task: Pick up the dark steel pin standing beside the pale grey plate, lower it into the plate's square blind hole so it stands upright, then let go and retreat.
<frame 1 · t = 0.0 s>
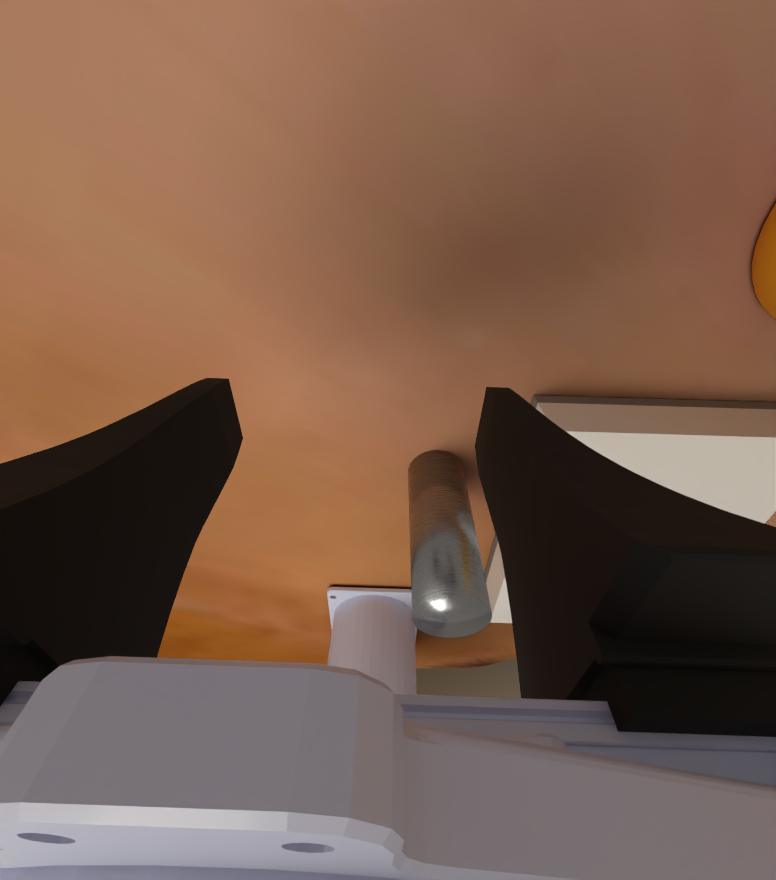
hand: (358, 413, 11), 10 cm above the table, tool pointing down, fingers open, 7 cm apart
grey hole plate: (602, 509, 28), on the table
steel pin: (435, 472, 26), on the table
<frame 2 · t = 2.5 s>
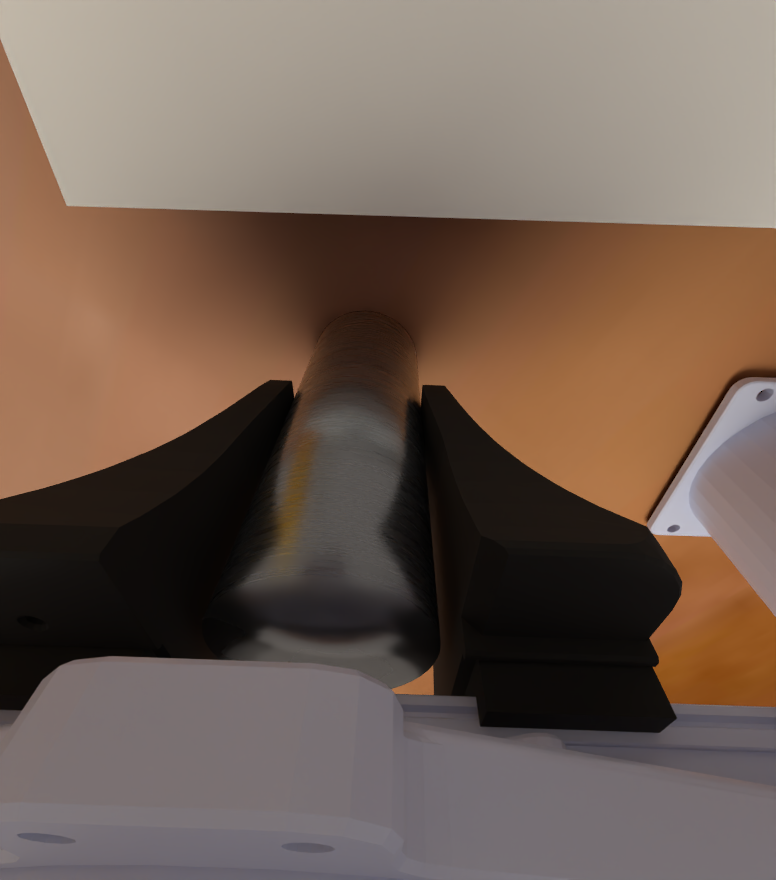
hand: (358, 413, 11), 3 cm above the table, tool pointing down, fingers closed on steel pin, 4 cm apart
steel pin: (366, 361, 14), on the table, touching gripper
when the fingers open (5 cm above the table, at t = 5.8 s): steel pin stays where it is, resting on grey hole plate.
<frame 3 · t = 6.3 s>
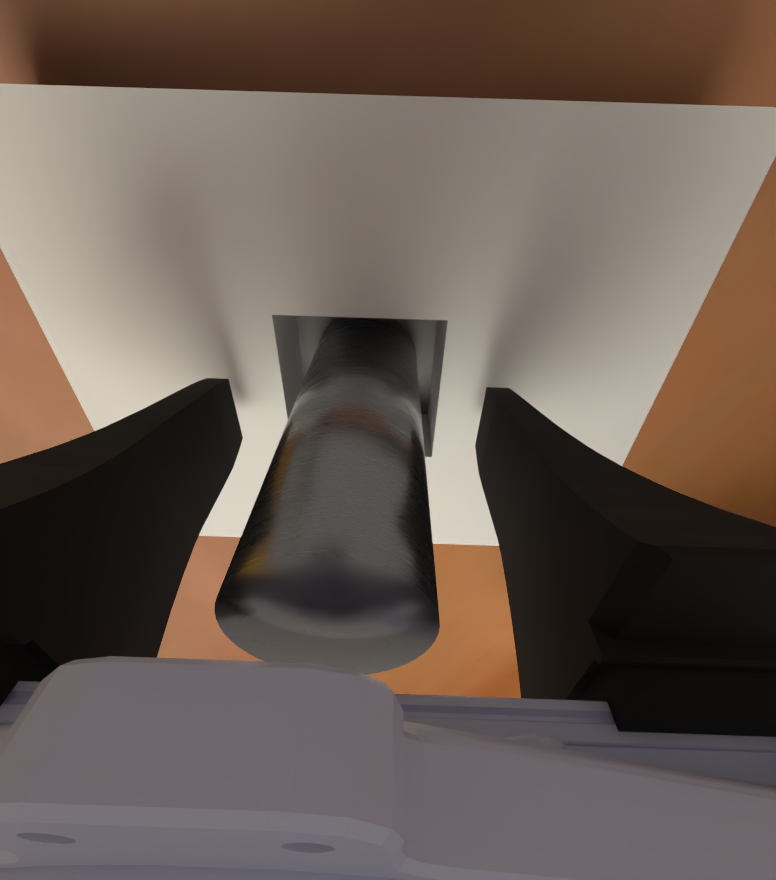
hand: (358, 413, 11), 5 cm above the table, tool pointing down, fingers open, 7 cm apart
grey hole plate: (368, 347, 15), on the table
steel pin: (366, 359, 14), point 1 cm above the table, touching grey hole plate
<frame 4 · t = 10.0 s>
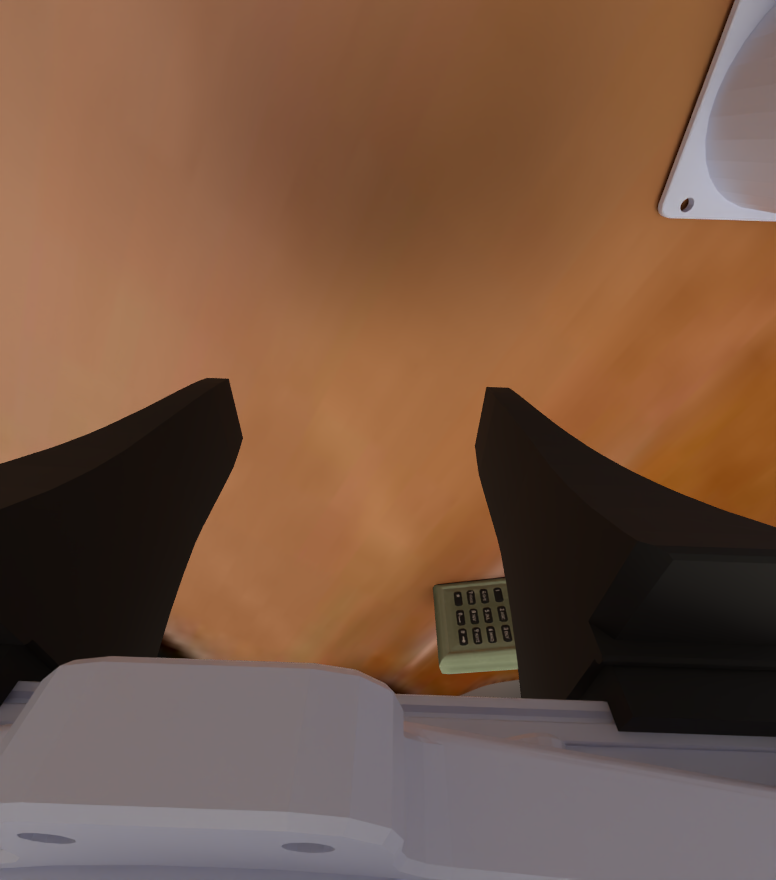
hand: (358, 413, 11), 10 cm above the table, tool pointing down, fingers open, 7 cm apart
handheld radio: (581, 573, 33), on the table
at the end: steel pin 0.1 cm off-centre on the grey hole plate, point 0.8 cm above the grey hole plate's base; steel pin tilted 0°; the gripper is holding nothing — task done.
